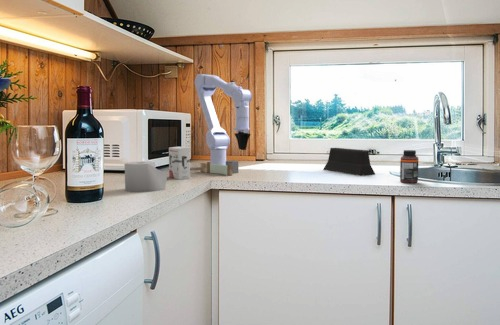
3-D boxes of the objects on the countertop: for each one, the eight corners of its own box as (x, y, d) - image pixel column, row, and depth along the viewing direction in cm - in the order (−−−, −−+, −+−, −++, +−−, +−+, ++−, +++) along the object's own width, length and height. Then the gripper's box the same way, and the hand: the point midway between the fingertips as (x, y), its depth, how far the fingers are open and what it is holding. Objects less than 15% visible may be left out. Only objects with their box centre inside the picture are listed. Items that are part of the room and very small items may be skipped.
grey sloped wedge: (170, 190, 135) (170, 163, 134) (127, 192, 130) (126, 164, 129) (164, 186, 143) (163, 160, 142) (123, 188, 138) (122, 162, 137)
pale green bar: (210, 172, 178) (209, 163, 178) (213, 171, 180) (213, 163, 179) (226, 174, 171) (226, 165, 171) (230, 174, 172) (229, 165, 172)
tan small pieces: (200, 171, 182) (200, 161, 182) (202, 171, 183) (202, 161, 183) (229, 175, 170) (229, 164, 169) (232, 175, 171) (232, 164, 170)
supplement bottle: (403, 180, 155) (404, 149, 154) (420, 182, 151) (421, 150, 150) (397, 182, 150) (398, 150, 149) (414, 184, 146) (415, 151, 145)
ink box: (168, 177, 165) (167, 146, 164) (179, 176, 168) (179, 146, 167) (179, 179, 159) (178, 148, 157) (190, 178, 161) (190, 147, 160)
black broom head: (375, 175, 173) (376, 150, 172) (359, 176, 169) (360, 151, 168) (338, 169, 194) (338, 147, 193) (322, 170, 190) (323, 147, 189)
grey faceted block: (221, 173, 178) (221, 161, 177) (231, 172, 182) (231, 160, 182) (227, 174, 175) (227, 162, 174) (238, 173, 179) (238, 161, 179)
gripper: (229, 117, 188) (230, 148, 189) (236, 117, 174) (236, 150, 175) (245, 117, 189) (245, 148, 191) (253, 117, 175) (253, 150, 177)
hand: (242, 149), depth 183 cm, fingers open, 3 cm apart
